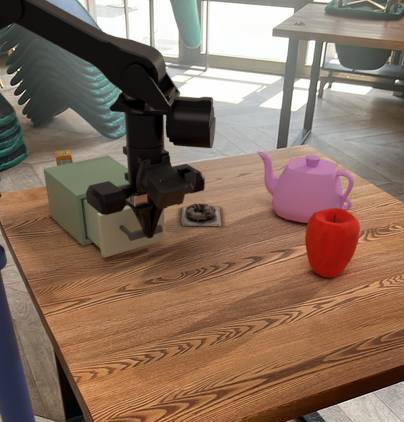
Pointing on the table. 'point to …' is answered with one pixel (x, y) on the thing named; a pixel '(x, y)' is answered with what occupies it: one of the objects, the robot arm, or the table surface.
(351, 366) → the table surface
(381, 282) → the table surface
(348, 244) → the apple
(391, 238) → the table surface
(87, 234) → the drawer
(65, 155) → the supplement box
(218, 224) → the donut
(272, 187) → the teapot
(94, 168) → the cabinet
